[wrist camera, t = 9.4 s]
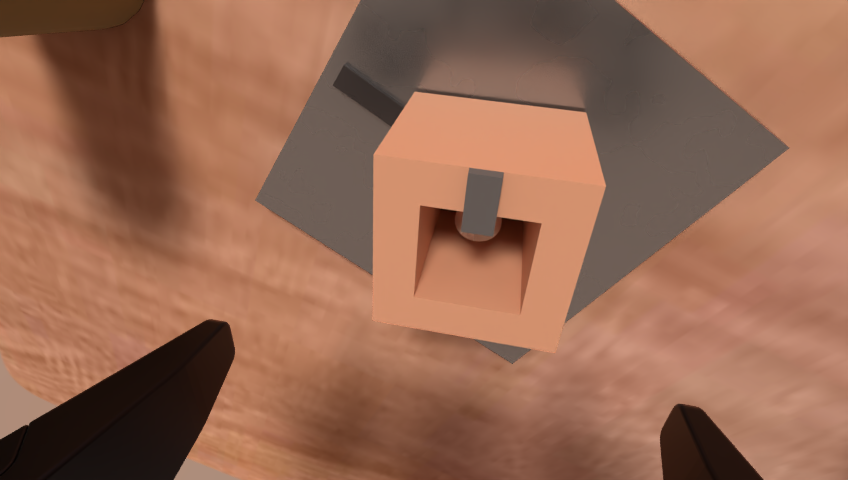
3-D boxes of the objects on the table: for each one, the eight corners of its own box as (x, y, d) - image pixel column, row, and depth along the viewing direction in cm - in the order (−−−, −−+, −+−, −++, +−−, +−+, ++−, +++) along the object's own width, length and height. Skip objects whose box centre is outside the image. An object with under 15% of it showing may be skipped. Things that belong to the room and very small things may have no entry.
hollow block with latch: (550, 254, 18) (555, 361, 14) (407, 231, 19) (369, 327, 15) (586, 112, 15) (607, 192, 11) (414, 91, 16) (369, 159, 11)
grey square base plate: (775, 135, 16) (839, 194, 12) (512, 347, 23) (509, 420, 20) (444, -145, 13) (416, -164, 10) (266, 188, 20) (215, 241, 17)
